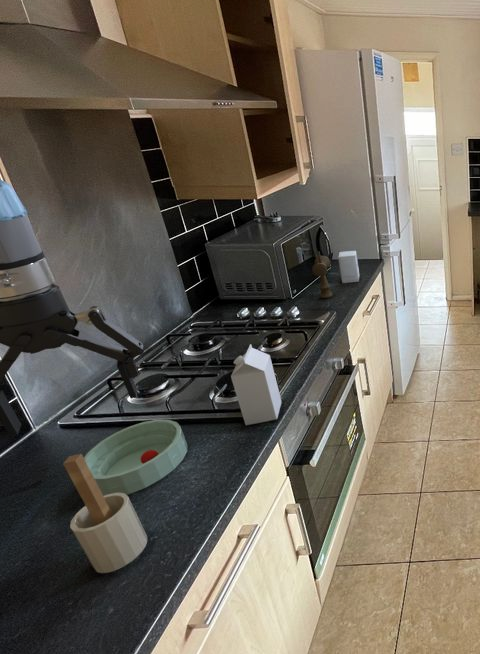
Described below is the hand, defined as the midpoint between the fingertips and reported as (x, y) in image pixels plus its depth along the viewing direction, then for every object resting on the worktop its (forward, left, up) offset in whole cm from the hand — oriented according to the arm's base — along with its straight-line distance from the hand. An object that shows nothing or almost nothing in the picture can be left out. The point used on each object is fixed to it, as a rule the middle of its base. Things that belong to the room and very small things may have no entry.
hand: (78, 411), depth 67 cm
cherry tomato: (-5, +18, -27) cm, 33 cm away
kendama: (+24, +100, -29) cm, 107 cm away
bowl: (-7, +18, -29) cm, 35 cm away
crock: (-1, -4, -29) cm, 29 cm away
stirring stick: (-1, -4, -28) cm, 28 cm away
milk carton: (+15, +29, -29) cm, 44 cm away
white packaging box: (+33, +116, -29) cm, 124 cm away
